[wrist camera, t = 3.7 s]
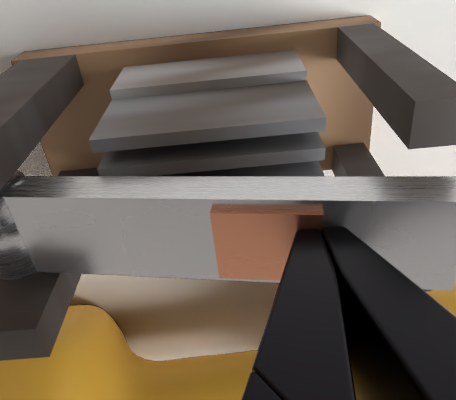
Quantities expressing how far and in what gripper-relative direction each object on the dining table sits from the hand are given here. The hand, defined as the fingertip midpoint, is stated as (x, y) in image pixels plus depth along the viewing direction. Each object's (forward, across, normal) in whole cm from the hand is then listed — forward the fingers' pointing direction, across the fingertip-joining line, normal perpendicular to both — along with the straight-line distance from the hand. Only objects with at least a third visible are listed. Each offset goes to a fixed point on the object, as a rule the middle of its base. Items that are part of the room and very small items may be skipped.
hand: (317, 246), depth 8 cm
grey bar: (+1, +2, 0) cm, 3 cm away
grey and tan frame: (+8, +2, 0) cm, 8 cm away
